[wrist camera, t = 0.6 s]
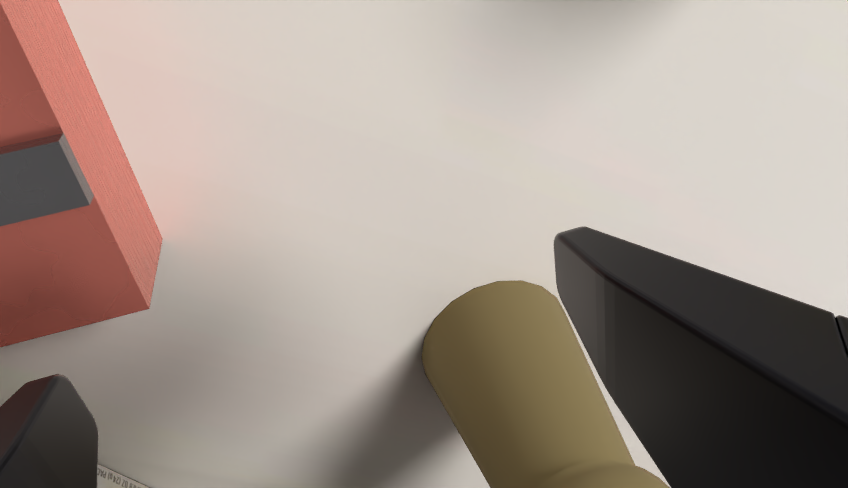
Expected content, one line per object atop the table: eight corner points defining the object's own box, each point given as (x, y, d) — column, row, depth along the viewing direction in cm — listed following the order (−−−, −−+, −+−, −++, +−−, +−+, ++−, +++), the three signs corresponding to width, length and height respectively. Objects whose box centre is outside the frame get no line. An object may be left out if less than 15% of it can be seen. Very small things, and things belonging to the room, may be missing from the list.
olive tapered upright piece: (403, 397, 26) (492, 692, 17) (447, 272, 24) (580, 541, 14) (535, 403, 28) (677, 670, 19) (589, 288, 26) (784, 534, 16)
